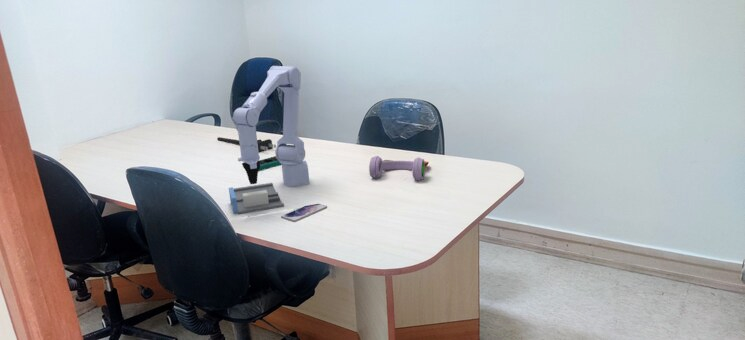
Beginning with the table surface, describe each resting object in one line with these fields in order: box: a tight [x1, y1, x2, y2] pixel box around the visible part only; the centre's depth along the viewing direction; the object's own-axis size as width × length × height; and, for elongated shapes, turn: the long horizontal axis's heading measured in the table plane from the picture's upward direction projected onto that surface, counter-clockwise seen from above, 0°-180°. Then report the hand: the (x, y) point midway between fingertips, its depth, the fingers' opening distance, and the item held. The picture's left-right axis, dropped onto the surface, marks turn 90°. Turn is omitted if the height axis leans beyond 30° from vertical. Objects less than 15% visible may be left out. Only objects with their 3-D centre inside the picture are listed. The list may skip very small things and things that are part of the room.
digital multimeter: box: [258, 155, 282, 172], centre depth 229 cm, size 7×15×3 cm, turn 131°
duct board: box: [228, 182, 285, 215], centre depth 190 cm, size 16×24×6 cm
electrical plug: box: [216, 136, 277, 154], centre depth 262 cm, size 9×42×5 cm, turn 49°
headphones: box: [368, 155, 429, 181], centre depth 211 cm, size 20×10×20 cm
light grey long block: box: [243, 190, 281, 208], centre depth 185 cm, size 12×3×4 cm, turn 109°
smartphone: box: [280, 203, 328, 223], centre depth 179 cm, size 7×1×15 cm
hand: (253, 183), depth 183 cm, fingers closed
